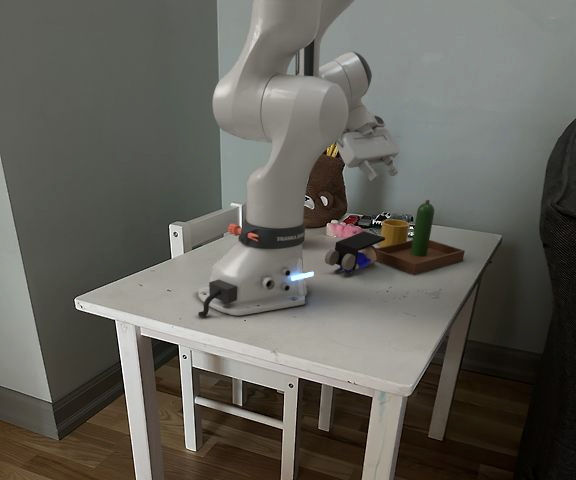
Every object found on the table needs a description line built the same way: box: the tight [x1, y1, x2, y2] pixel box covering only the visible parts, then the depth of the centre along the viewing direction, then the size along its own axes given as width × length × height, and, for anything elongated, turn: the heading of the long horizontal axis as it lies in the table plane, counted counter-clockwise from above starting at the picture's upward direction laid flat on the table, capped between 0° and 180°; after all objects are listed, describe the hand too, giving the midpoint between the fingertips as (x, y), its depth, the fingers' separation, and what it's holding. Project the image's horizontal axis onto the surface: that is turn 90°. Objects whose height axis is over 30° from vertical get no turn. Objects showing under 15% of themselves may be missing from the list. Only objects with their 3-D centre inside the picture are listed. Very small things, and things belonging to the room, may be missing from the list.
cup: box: [378, 219, 411, 247], centre depth 143 cm, size 7×7×6 cm
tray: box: [375, 239, 466, 276], centre depth 135 cm, size 19×13×3 cm
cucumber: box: [411, 199, 435, 256], centre depth 134 cm, size 4×4×13 cm
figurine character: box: [324, 230, 385, 277], centre depth 125 cm, size 7×8×15 cm
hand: (384, 176), depth 135 cm, fingers open, 8 cm apart
